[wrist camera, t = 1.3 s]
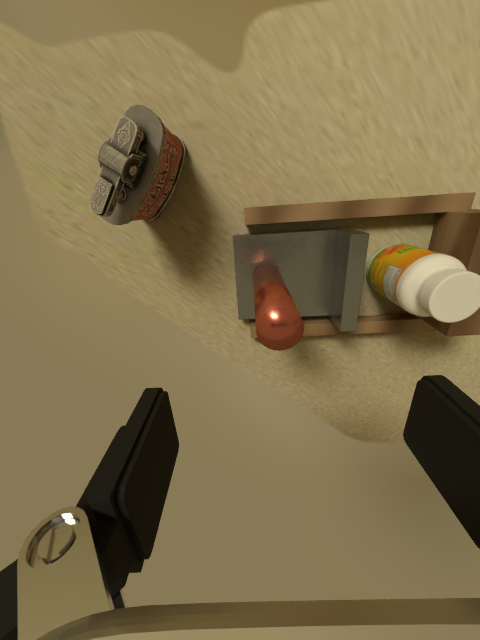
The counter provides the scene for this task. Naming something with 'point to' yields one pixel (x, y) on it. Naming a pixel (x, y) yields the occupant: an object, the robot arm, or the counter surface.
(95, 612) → the robot arm
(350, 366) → the counter surface
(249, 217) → the bench clamp
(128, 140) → the lighter
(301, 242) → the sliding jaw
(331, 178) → the counter surface
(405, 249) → the supplement bottle
